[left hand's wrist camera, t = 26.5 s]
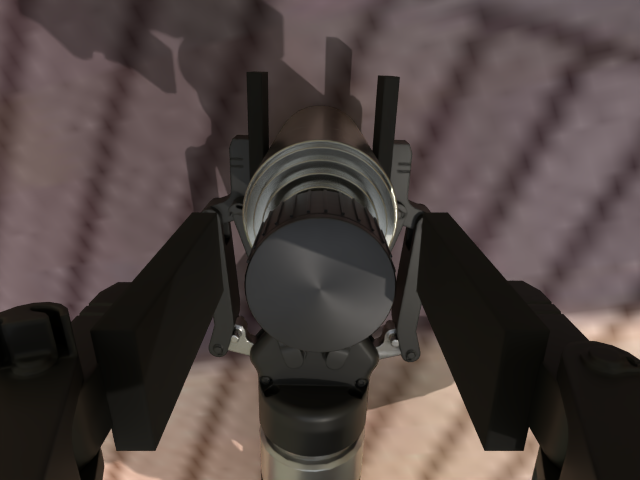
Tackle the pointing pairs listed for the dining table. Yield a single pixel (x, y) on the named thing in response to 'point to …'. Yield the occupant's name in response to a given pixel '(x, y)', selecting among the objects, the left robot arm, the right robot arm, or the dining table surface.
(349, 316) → the cap
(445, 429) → the dining table surface
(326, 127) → the bottle
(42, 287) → the dining table surface
